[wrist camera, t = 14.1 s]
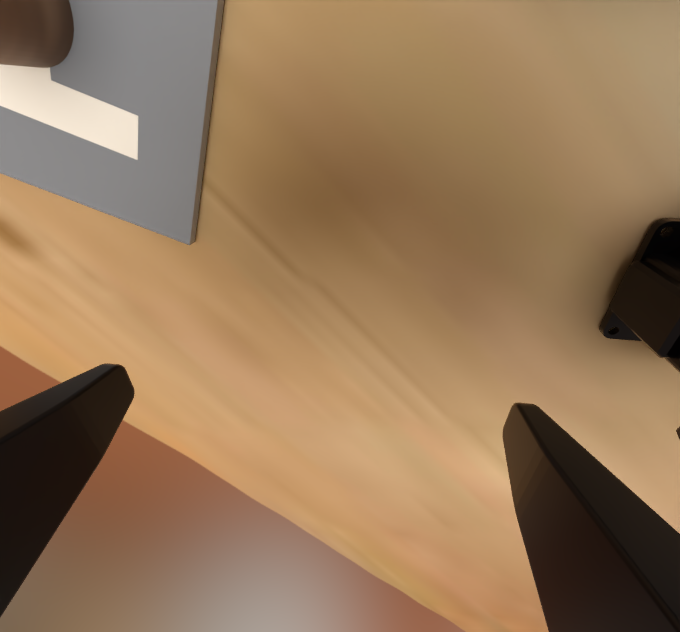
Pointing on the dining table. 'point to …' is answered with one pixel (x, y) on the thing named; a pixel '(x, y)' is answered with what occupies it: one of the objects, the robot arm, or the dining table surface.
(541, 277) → the dining table surface
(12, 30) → the walnut pillar
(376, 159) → the dining table surface
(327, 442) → the dining table surface
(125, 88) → the letter board
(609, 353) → the dining table surface
